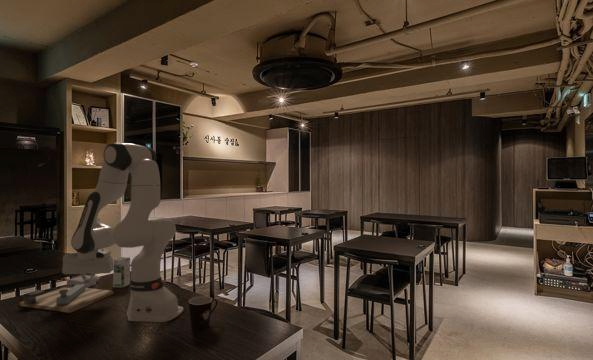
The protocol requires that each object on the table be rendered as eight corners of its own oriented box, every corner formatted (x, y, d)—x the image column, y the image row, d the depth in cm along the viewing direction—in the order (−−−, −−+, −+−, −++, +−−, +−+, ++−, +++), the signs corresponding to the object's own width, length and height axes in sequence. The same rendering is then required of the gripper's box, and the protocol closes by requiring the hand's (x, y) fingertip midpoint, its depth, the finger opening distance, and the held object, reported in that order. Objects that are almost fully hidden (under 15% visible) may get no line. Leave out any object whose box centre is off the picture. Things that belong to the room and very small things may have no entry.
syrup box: (112, 287, 169) (112, 258, 169) (120, 283, 175) (120, 256, 175) (122, 288, 168) (122, 259, 168) (130, 284, 174) (130, 256, 174)
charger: (105, 281, 179) (81, 290, 164) (91, 280, 181) (66, 289, 167) (105, 272, 179) (81, 281, 164) (91, 271, 181) (66, 279, 167)
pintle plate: (113, 294, 160) (113, 279, 160) (69, 313, 137) (69, 296, 137) (67, 288, 166) (68, 274, 166) (18, 306, 144) (18, 289, 143)
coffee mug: (190, 333, 121) (190, 306, 121) (186, 324, 128) (186, 298, 128) (222, 327, 126) (222, 301, 126) (216, 318, 134) (216, 293, 134)
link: (67, 304, 141) (67, 298, 141) (53, 305, 140) (53, 299, 140) (86, 289, 160) (86, 284, 160) (75, 289, 159) (75, 284, 159)
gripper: (59, 254, 147) (59, 285, 147) (110, 254, 151) (109, 284, 151) (66, 251, 153) (66, 281, 153) (114, 250, 157) (114, 280, 157)
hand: (87, 282), depth 152 cm, fingers closed
